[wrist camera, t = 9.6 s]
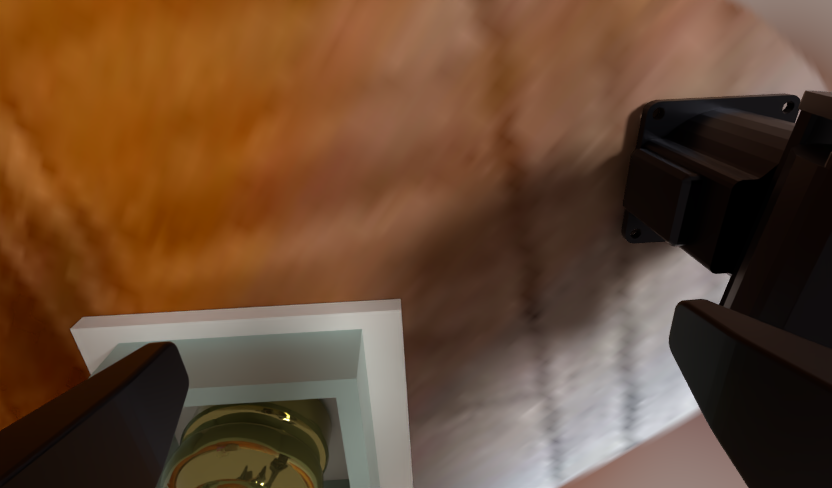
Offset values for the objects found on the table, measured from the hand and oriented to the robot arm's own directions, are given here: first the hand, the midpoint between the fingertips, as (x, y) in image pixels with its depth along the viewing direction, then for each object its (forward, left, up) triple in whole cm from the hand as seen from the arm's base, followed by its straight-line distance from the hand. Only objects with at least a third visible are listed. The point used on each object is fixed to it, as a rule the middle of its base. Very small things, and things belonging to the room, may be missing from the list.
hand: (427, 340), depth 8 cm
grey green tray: (+9, +14, -13) cm, 21 cm away
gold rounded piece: (+9, +14, -12) cm, 21 cm away
